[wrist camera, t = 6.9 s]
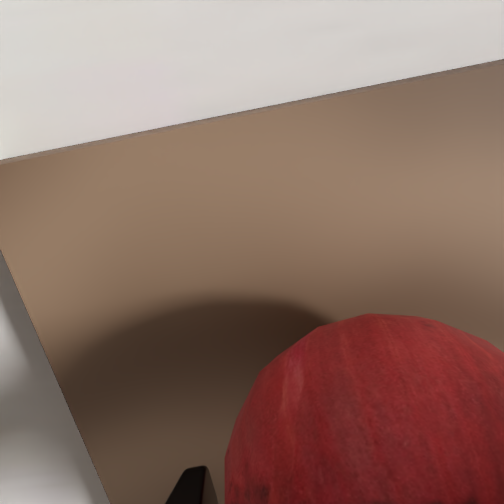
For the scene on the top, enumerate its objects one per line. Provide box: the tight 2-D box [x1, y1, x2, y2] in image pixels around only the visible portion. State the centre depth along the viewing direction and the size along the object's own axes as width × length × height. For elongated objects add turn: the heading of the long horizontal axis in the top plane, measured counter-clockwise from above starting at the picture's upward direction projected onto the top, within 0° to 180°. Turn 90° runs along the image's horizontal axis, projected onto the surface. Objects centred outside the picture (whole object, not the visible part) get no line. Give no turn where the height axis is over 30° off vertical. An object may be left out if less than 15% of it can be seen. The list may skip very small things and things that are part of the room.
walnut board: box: [0, 59, 504, 504], centre depth 11 cm, size 12×14×2 cm
